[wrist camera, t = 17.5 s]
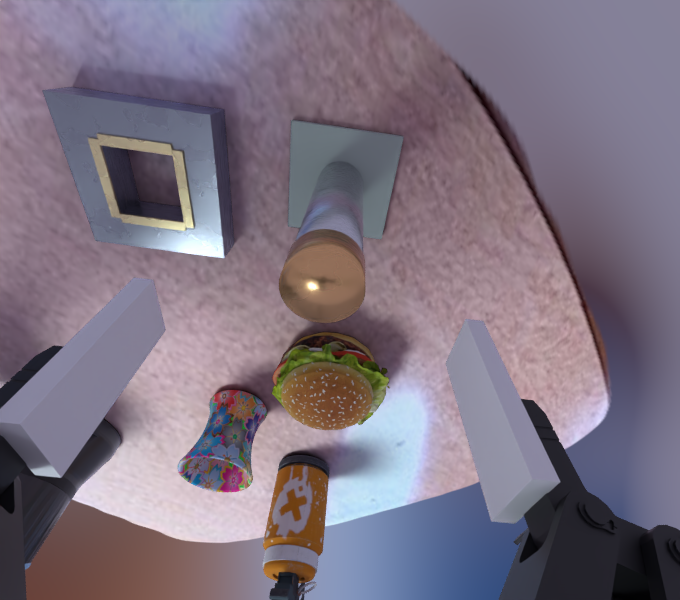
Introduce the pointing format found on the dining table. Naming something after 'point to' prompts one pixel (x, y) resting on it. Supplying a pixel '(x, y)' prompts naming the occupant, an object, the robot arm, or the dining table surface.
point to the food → (329, 381)
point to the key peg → (328, 250)
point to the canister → (296, 525)
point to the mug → (225, 443)
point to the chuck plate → (117, 177)
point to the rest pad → (348, 146)
